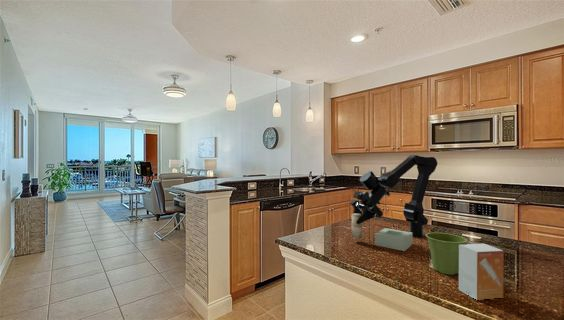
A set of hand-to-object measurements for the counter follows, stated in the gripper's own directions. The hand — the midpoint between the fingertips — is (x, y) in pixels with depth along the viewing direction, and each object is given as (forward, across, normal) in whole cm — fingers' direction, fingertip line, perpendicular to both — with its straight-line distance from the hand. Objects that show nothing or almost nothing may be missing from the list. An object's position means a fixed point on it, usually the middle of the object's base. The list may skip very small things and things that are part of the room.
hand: (353, 222), depth 119 cm
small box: (+1, +51, +12) cm, 52 cm away
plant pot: (-2, +36, +16) cm, 39 cm away
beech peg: (+4, 0, +6) cm, 7 cm away
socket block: (-4, +8, +17) cm, 19 cm away
